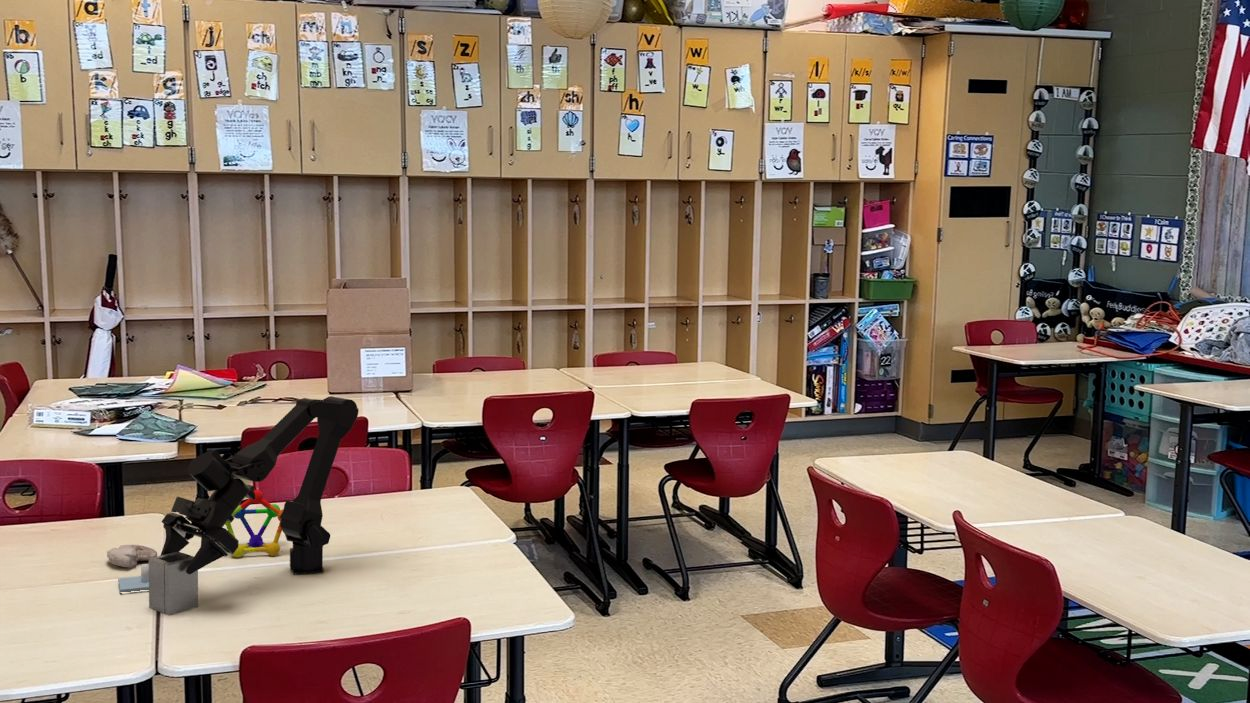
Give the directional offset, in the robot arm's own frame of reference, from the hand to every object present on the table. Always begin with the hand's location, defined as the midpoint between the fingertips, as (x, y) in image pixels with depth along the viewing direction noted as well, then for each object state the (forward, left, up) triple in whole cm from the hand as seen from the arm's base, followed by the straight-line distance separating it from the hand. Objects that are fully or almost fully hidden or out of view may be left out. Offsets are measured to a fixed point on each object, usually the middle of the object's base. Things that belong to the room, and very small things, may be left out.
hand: (173, 568), depth 231 cm
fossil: (+10, -33, -8) cm, 35 cm away
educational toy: (-16, -36, -8) cm, 40 cm away
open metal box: (0, 0, -8) cm, 8 cm away
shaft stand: (+6, -15, -8) cm, 18 cm away
